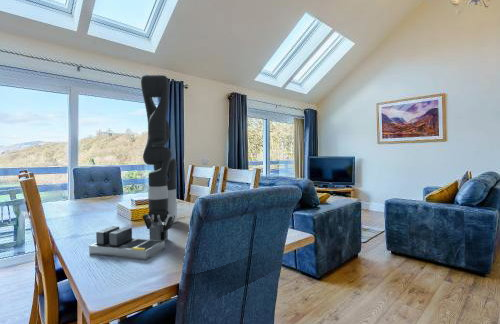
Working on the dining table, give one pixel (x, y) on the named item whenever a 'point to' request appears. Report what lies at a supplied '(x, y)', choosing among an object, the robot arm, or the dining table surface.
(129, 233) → the rack
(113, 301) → the dining table surface
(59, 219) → the dining table surface
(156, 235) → the grey block
